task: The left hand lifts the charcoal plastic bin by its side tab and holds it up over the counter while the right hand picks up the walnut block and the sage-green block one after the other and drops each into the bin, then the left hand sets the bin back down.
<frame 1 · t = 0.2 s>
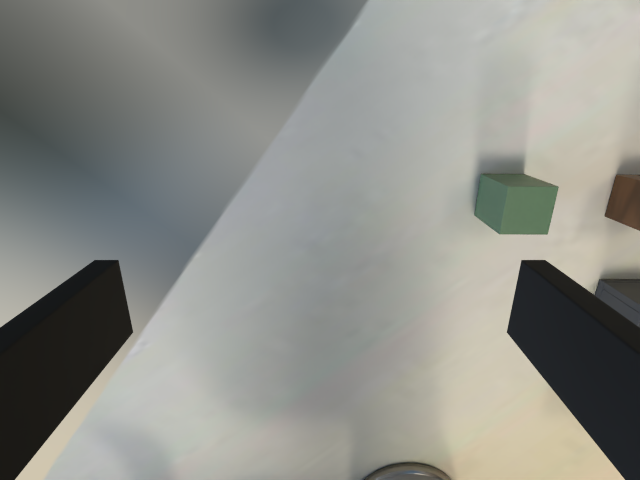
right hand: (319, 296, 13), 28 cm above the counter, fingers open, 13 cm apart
walnut block: (631, 196, 40), on the counter
bin: (637, 340, 46), on the counter
green block: (498, 195, 40), on the counter
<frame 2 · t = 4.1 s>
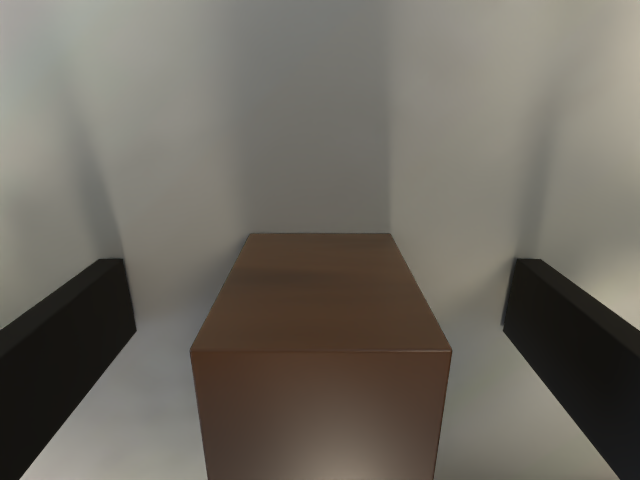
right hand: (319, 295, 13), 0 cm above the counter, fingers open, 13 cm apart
walnut block: (320, 295, 13), on the counter
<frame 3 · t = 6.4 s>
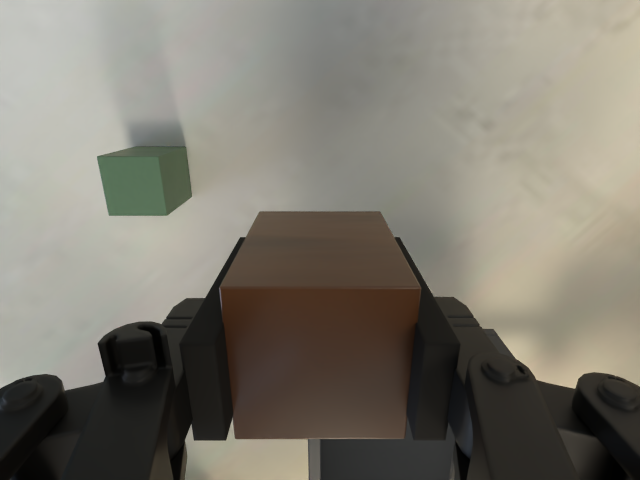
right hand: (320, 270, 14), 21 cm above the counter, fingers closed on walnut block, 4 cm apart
walnut block: (319, 266, 15), point 20 cm above the counter, touching right hand
bin: (394, 415, 31), point 10 cm above the counter, touching left hand
green block: (164, 172, 34), on the counter
when the right hand's fingers open (17 cm above the counter, at t = 8.7 s): walnut block drops 6 cm, resting on bin.
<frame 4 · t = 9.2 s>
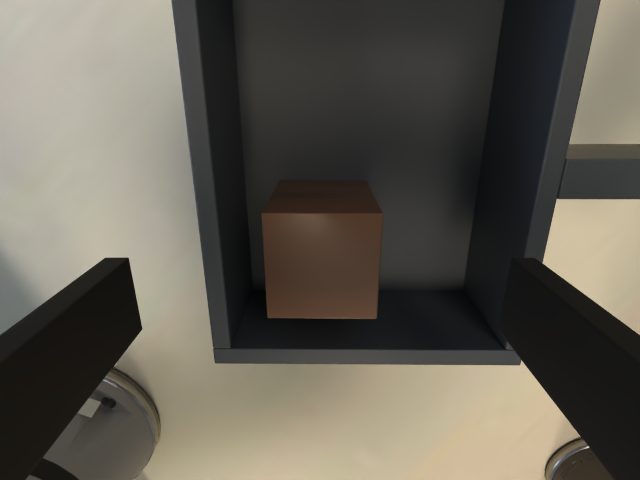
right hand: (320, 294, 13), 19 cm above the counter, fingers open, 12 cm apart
walnut block: (322, 221, 20), point 10 cm above the counter, touching bin
bin: (360, 155, 20), point 10 cm above the counter, touching left hand, walnut block
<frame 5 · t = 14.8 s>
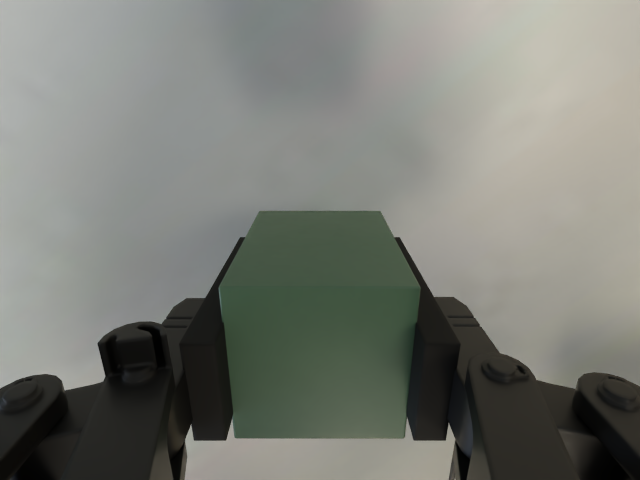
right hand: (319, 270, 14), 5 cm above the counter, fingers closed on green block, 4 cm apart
green block: (319, 266, 15), point 4 cm above the counter, touching right hand
when the right hand's fingers open (17 cm above the counter, at t = 18.3 s): green block drops 6 cm, resting on bin.
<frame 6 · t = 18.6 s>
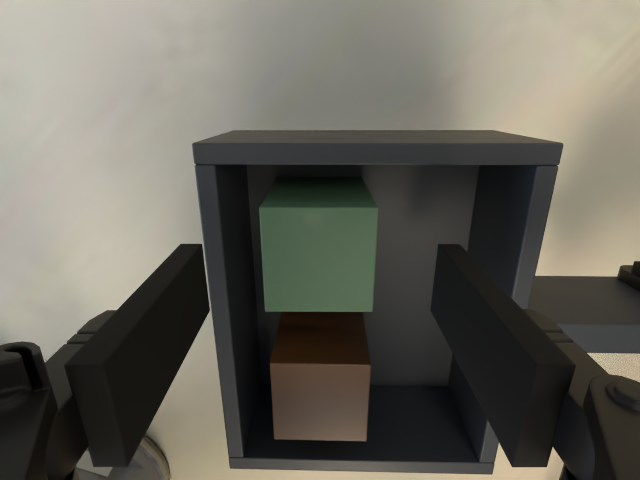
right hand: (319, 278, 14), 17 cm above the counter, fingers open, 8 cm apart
walnut block: (322, 330, 23), point 10 cm above the counter, touching bin
bin: (357, 274, 23), point 9 cm above the counter, touching green block, left hand, walnut block
green block: (319, 218, 20), point 10 cm above the counter, touching bin
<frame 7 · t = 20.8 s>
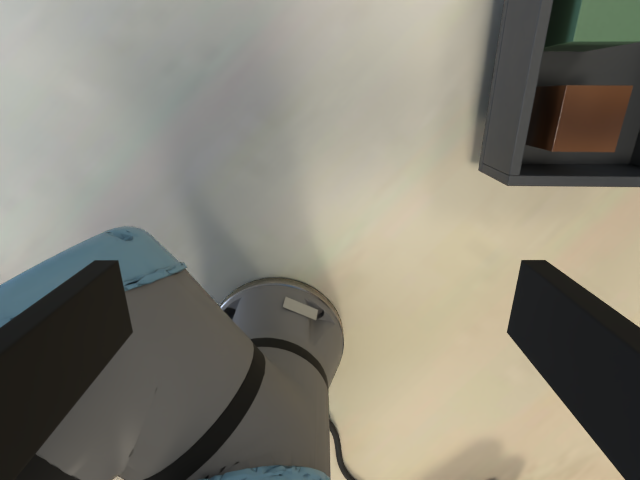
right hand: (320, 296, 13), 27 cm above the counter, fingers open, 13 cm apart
walnut block: (546, 115, 32), point 4 cm above the counter, touching bin
bin: (575, 72, 32), point 3 cm above the counter, touching green block, left hand, walnut block
green block: (564, 19, 30), point 4 cm above the counter, touching bin
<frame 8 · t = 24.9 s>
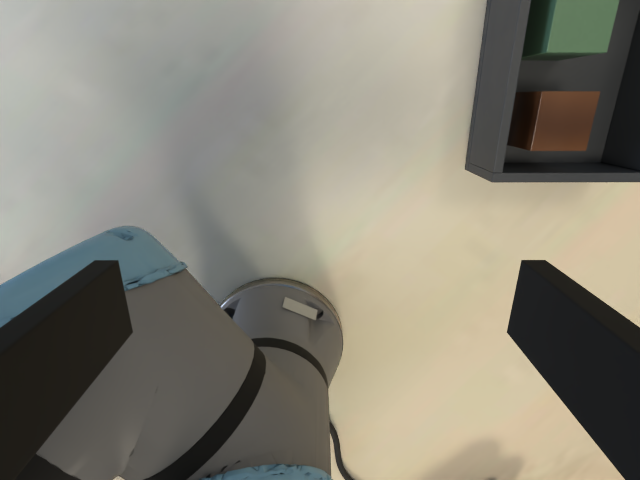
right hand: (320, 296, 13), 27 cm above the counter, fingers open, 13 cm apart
walnut block: (525, 118, 35), point 1 cm above the counter, touching bin
bin: (550, 79, 35), on the counter, touching green block, walnut block
green block: (539, 32, 33), point 1 cm above the counter, touching bin
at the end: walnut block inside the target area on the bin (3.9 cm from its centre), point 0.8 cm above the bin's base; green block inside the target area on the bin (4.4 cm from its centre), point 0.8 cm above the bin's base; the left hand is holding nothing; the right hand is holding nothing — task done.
